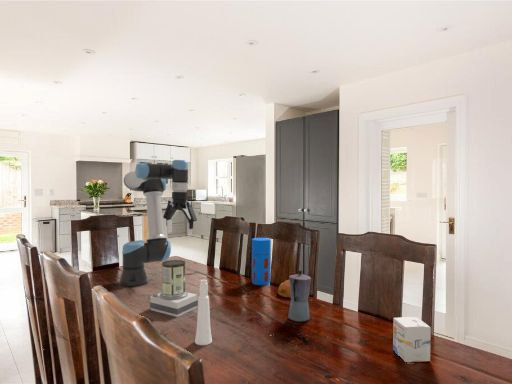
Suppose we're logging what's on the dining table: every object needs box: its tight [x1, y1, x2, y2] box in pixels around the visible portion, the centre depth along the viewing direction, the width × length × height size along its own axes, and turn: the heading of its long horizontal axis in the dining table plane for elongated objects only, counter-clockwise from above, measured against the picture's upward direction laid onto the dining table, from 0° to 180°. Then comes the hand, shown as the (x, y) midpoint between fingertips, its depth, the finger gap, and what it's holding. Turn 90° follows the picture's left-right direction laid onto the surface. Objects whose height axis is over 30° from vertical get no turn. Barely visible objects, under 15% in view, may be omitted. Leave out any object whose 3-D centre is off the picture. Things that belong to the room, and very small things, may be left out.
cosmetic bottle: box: [194, 278, 213, 346], centre depth 122 cm, size 6×6×22 cm
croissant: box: [277, 279, 291, 299], centre depth 177 cm, size 14×16×8 cm
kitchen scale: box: [149, 290, 198, 318], centre depth 155 cm, size 16×13×7 cm
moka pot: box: [287, 270, 312, 322], centre depth 144 cm, size 10×15×20 cm, turn 161°
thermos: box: [251, 237, 272, 286], centre depth 197 cm, size 11×11×25 cm
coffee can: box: [161, 259, 186, 297], centre depth 155 cm, size 10×10×14 cm
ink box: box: [392, 316, 432, 362], centre depth 112 cm, size 9×8×12 cm
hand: (179, 234), depth 171 cm, fingers open, 13 cm apart
